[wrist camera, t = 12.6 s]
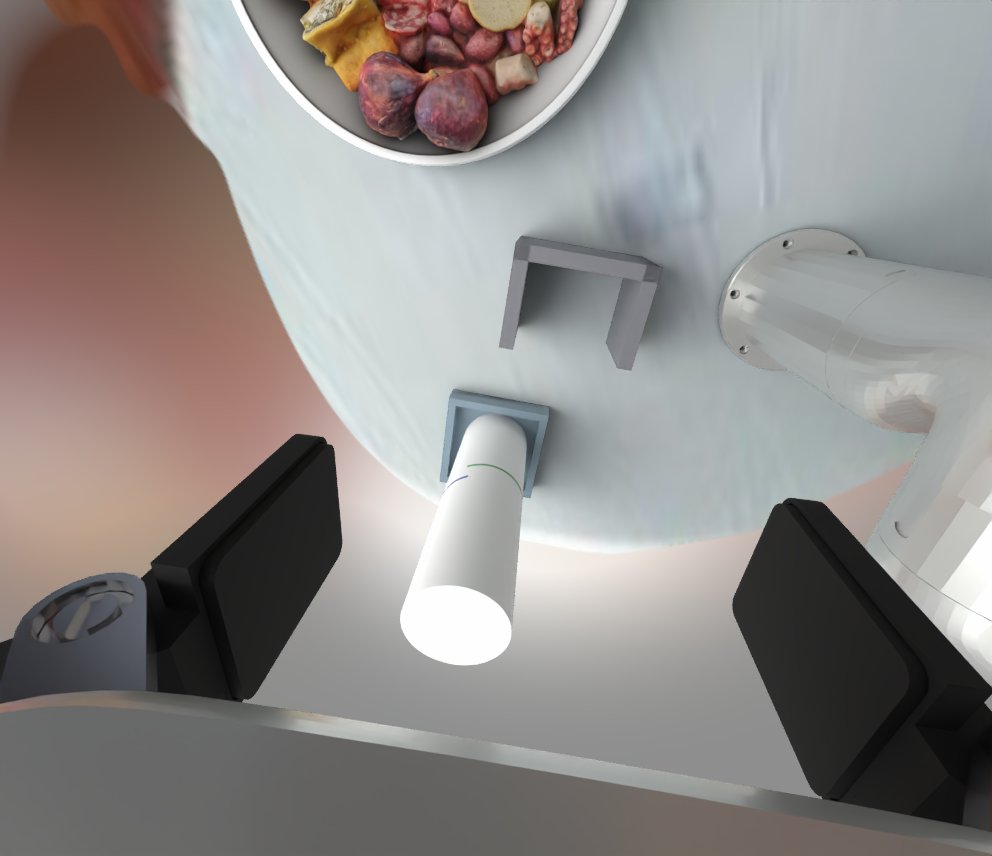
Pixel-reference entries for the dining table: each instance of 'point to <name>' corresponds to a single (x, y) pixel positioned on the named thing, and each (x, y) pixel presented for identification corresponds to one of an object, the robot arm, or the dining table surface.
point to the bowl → (431, 68)
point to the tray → (475, 405)
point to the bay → (633, 270)
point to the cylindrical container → (472, 550)
